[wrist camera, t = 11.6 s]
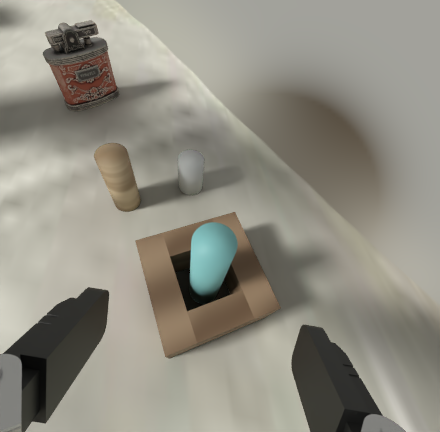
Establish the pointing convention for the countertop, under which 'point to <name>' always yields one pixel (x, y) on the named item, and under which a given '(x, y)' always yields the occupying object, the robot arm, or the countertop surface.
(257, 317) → the walnut block
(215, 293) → the teal pin
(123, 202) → the beech pin
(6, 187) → the countertop surface
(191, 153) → the grey pin
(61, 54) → the lighter
